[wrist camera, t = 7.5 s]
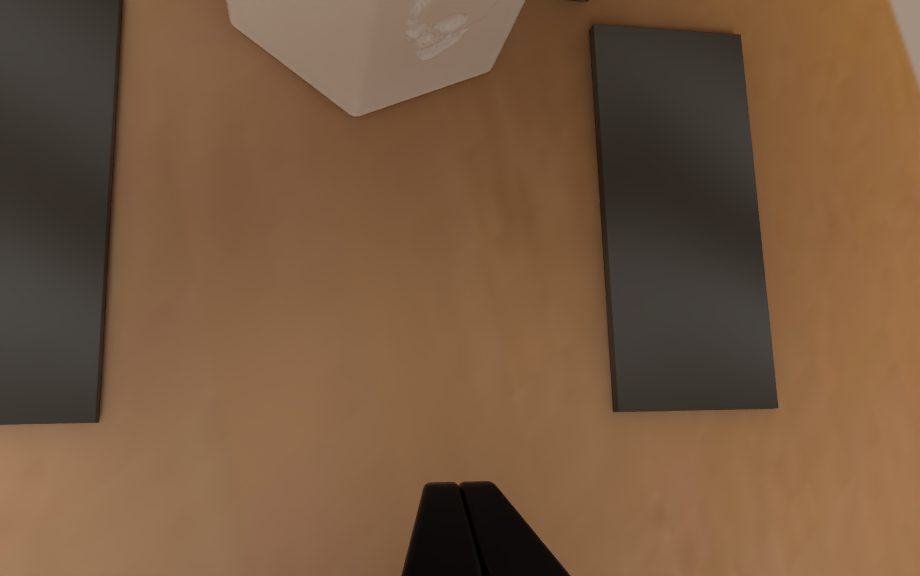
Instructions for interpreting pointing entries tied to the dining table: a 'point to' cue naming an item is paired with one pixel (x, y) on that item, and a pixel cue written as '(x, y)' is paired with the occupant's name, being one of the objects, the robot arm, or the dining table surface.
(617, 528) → the dining table surface
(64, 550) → the dining table surface
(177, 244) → the dining table surface
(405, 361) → the dining table surface
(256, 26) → the jar
